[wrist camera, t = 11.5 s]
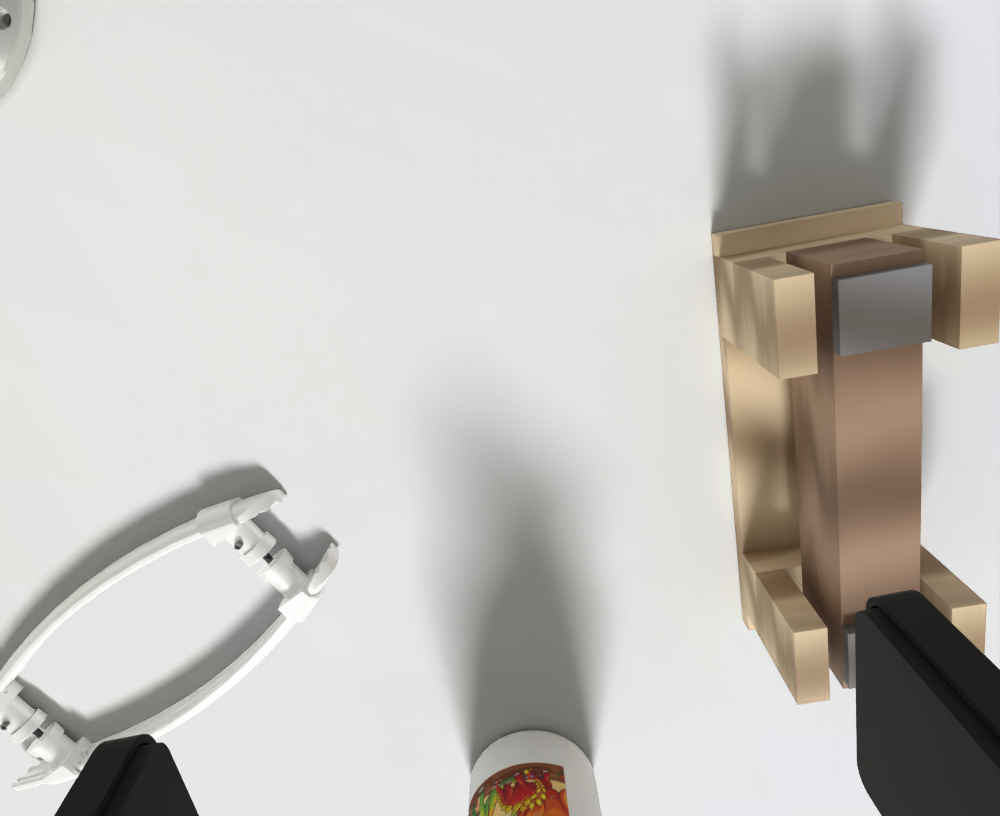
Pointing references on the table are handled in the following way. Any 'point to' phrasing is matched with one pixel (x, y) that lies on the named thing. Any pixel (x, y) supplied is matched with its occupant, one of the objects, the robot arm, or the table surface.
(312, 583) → the door handle
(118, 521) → the table surface
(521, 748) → the milk bottle
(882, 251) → the rail
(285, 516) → the table surface
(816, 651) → the wooden cradle stand
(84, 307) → the table surface
